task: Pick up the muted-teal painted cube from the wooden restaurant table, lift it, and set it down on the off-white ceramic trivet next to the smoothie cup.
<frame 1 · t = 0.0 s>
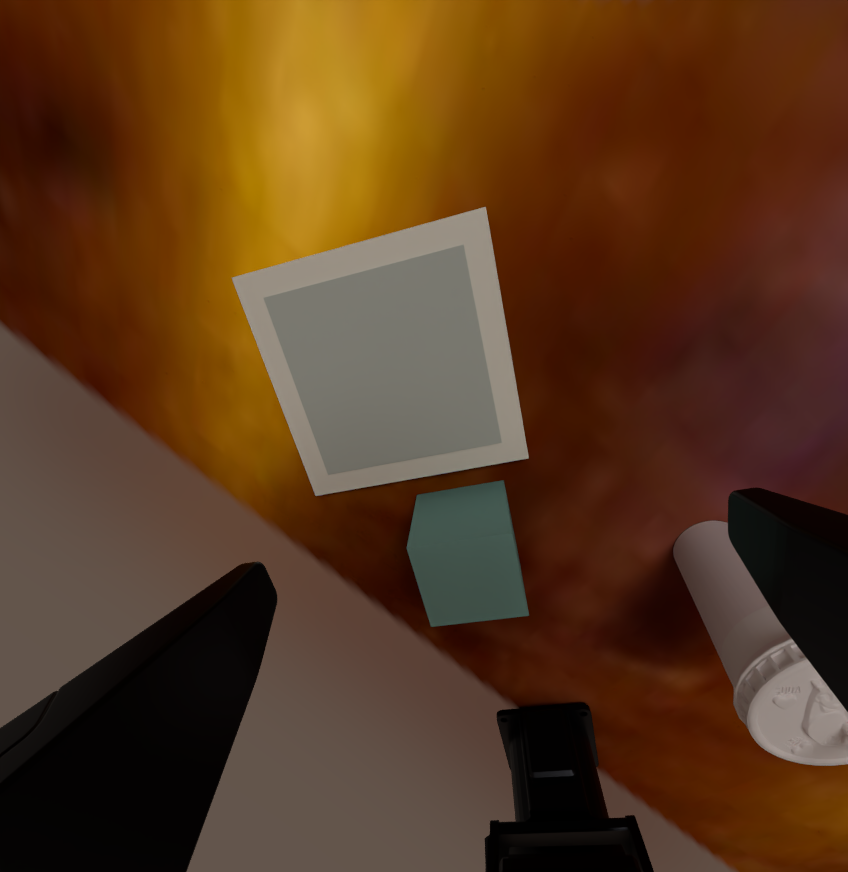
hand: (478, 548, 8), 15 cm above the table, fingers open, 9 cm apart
trivet: (390, 368, 22), on the table
cube: (468, 523, 26), on the table
smoothie: (705, 545, 25), on the table
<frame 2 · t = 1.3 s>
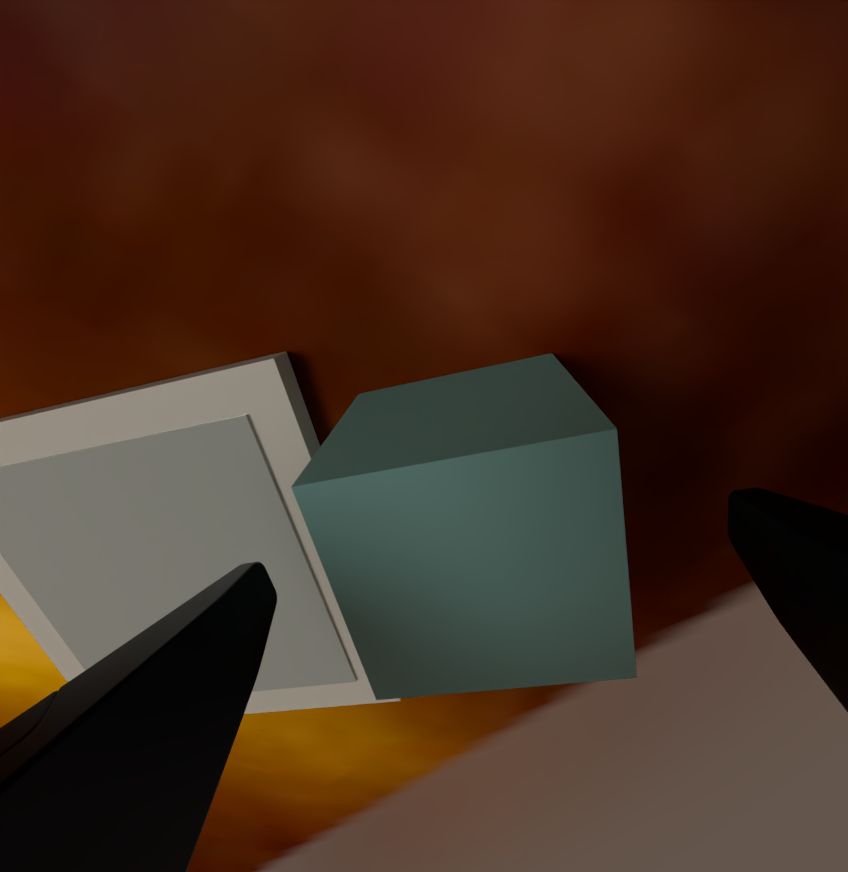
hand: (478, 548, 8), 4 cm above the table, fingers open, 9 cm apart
trivet: (182, 568, 14), on the table
cube: (470, 459, 12), on the table
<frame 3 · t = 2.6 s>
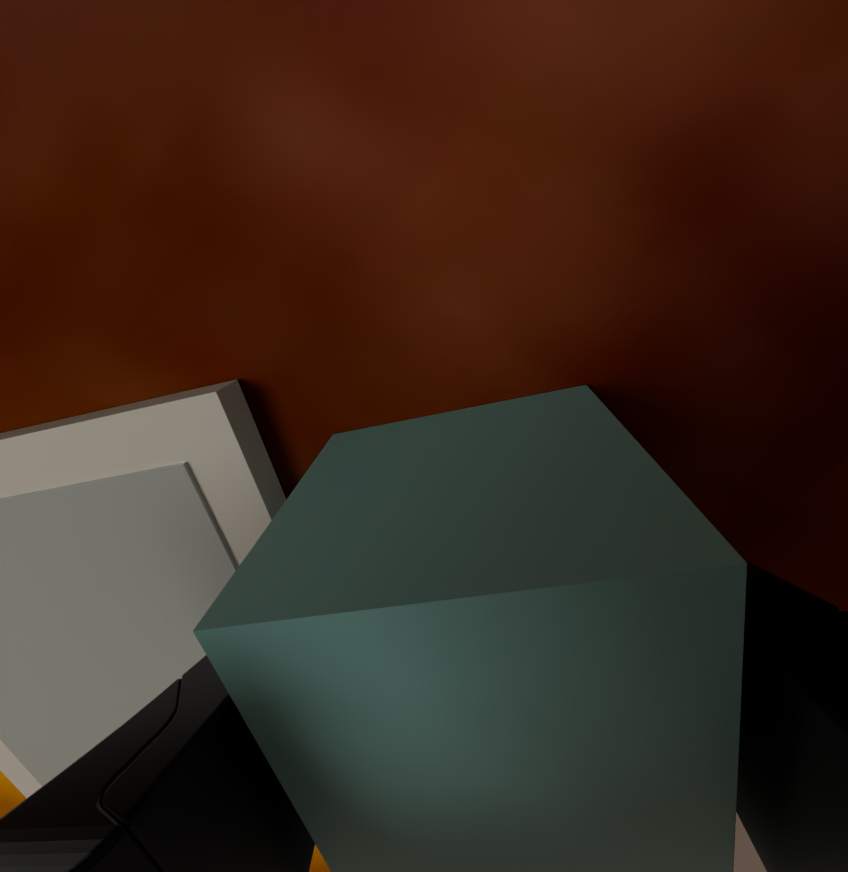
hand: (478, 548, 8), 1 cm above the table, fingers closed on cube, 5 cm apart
trivet: (124, 636, 12), on the table
cube: (477, 518, 9), on the table, touching gripper
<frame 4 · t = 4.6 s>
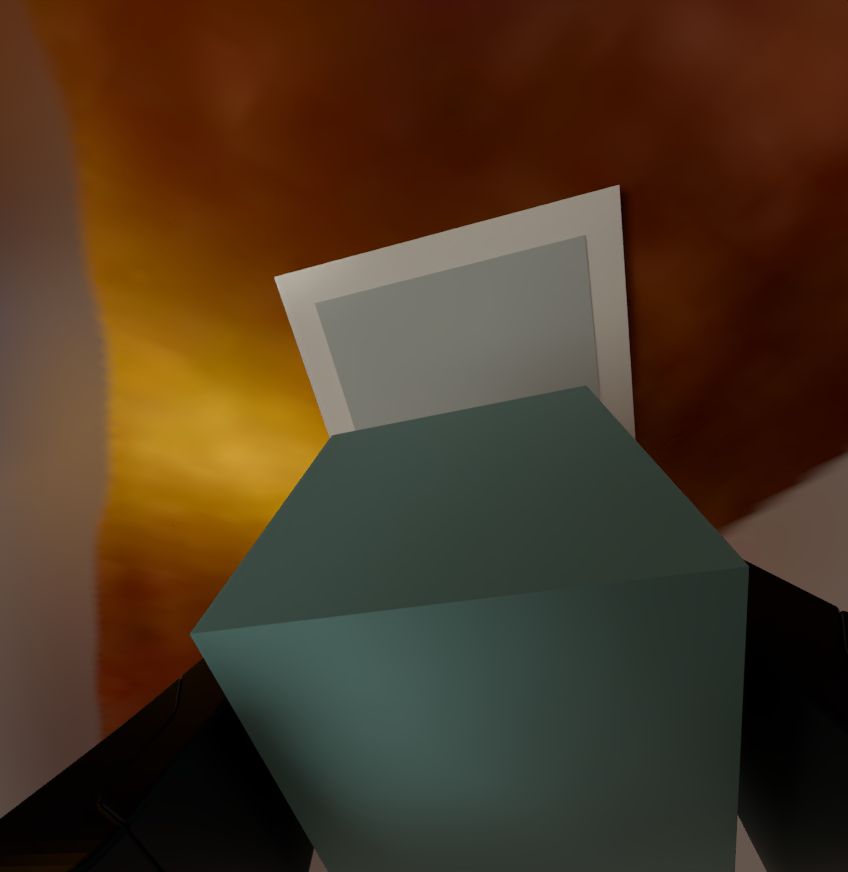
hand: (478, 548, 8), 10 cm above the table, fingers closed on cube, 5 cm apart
trivet: (469, 392, 18), on the table
cube: (477, 519, 9), point 9 cm above the table, touching gripper
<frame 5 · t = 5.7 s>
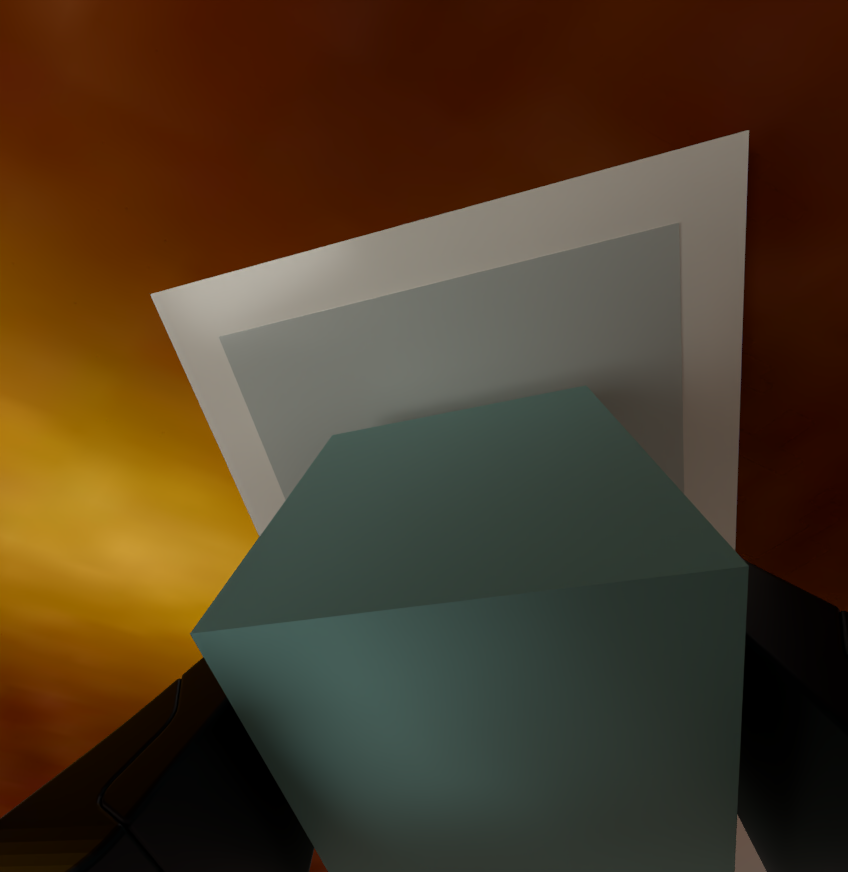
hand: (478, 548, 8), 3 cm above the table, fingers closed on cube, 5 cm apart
trivet: (472, 470, 11), on the table
cube: (477, 519, 9), point 2 cm above the table, touching gripper
when the fingers open (3 cm above the table, at t = 6.6 s): cube drops 1 cm, resting on trivet.
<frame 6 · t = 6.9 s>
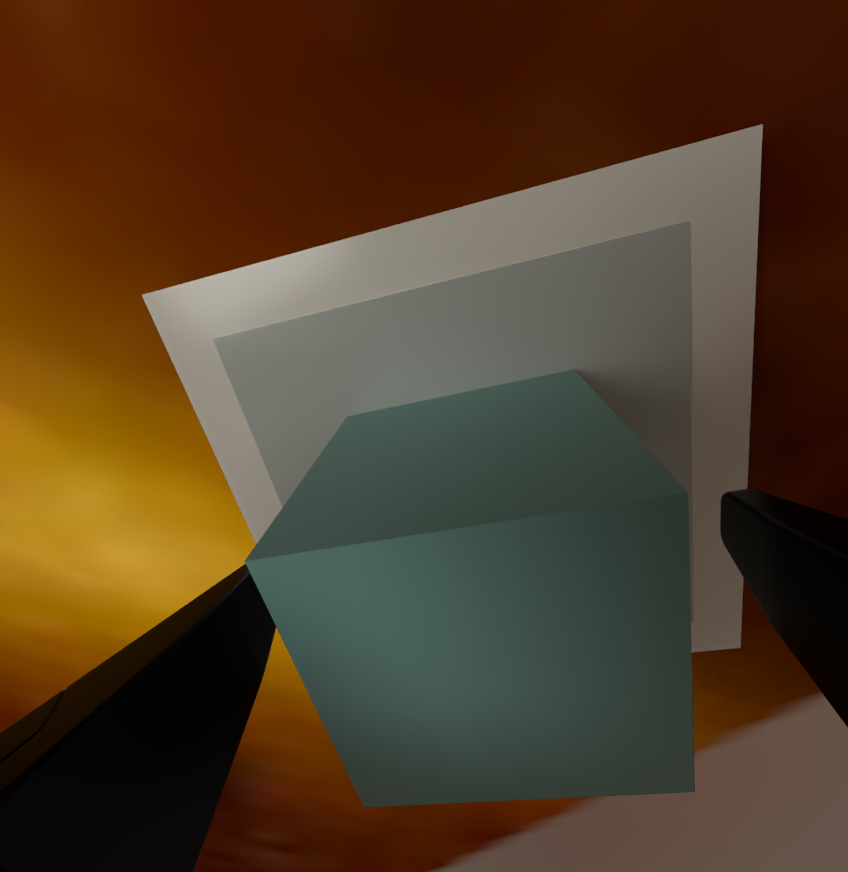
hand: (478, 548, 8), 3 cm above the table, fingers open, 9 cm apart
trivet: (474, 475, 11), on the table
cube: (477, 492, 10), point 1 cm above the table, touching trivet
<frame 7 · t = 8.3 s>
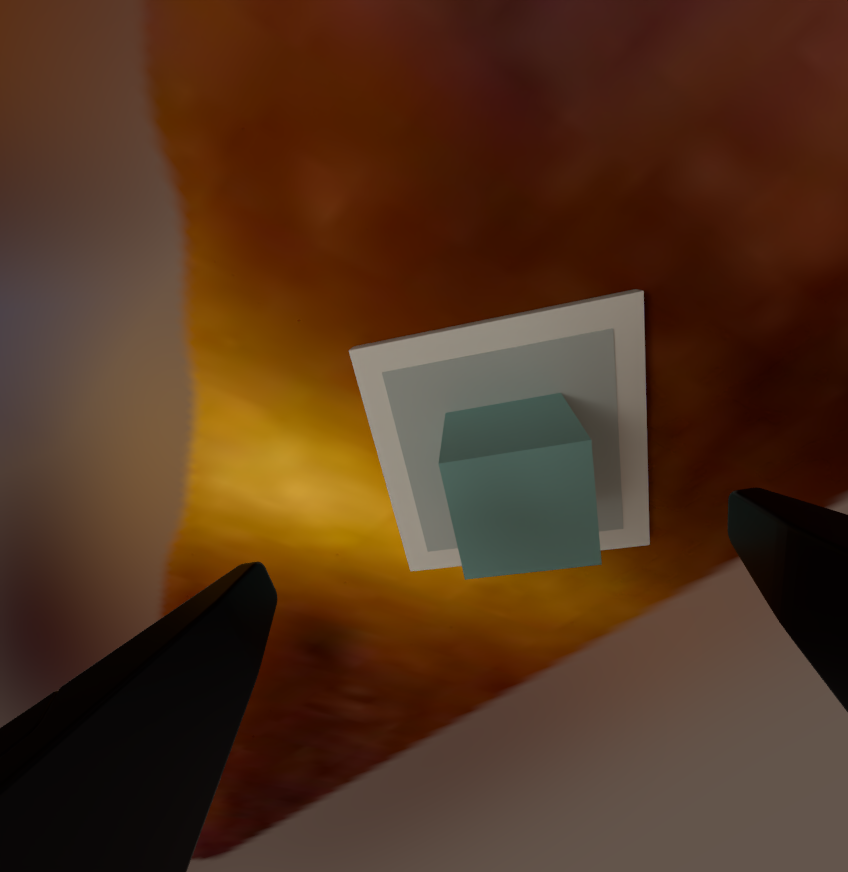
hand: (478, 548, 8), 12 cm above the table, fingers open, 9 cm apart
trivet: (506, 446, 21), on the table
cube: (510, 454, 20), point 1 cm above the table, touching trivet
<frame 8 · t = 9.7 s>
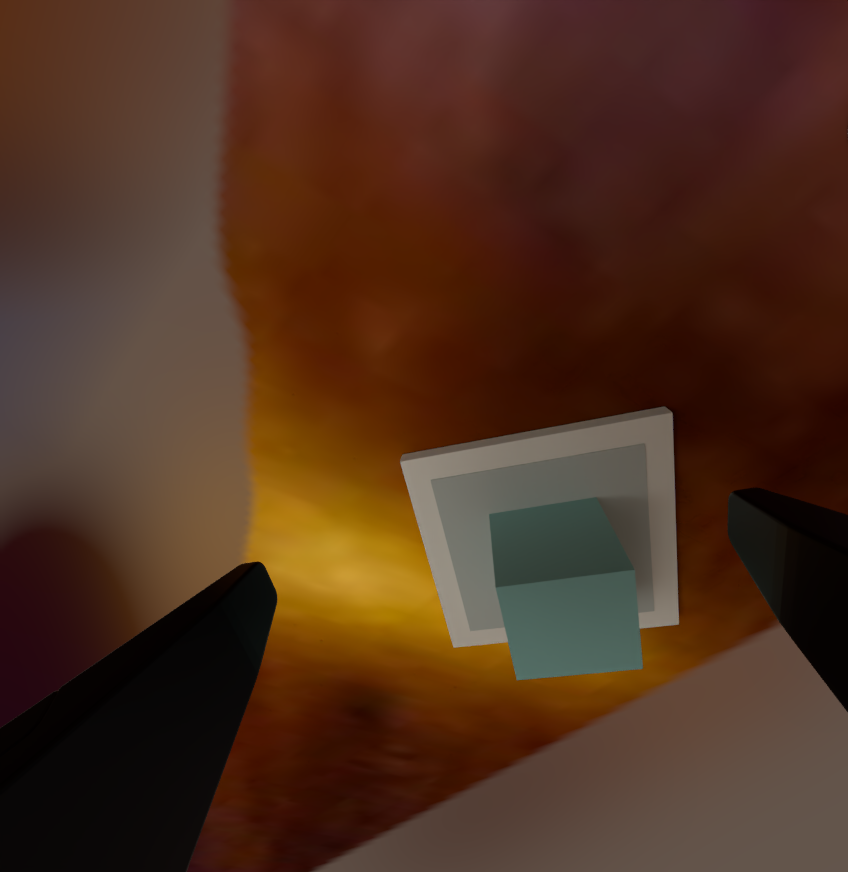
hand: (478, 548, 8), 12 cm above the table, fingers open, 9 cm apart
trivet: (544, 537, 22), on the table
cube: (548, 548, 21), point 1 cm above the table, touching trivet
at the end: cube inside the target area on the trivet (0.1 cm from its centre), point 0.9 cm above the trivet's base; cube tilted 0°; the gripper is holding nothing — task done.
